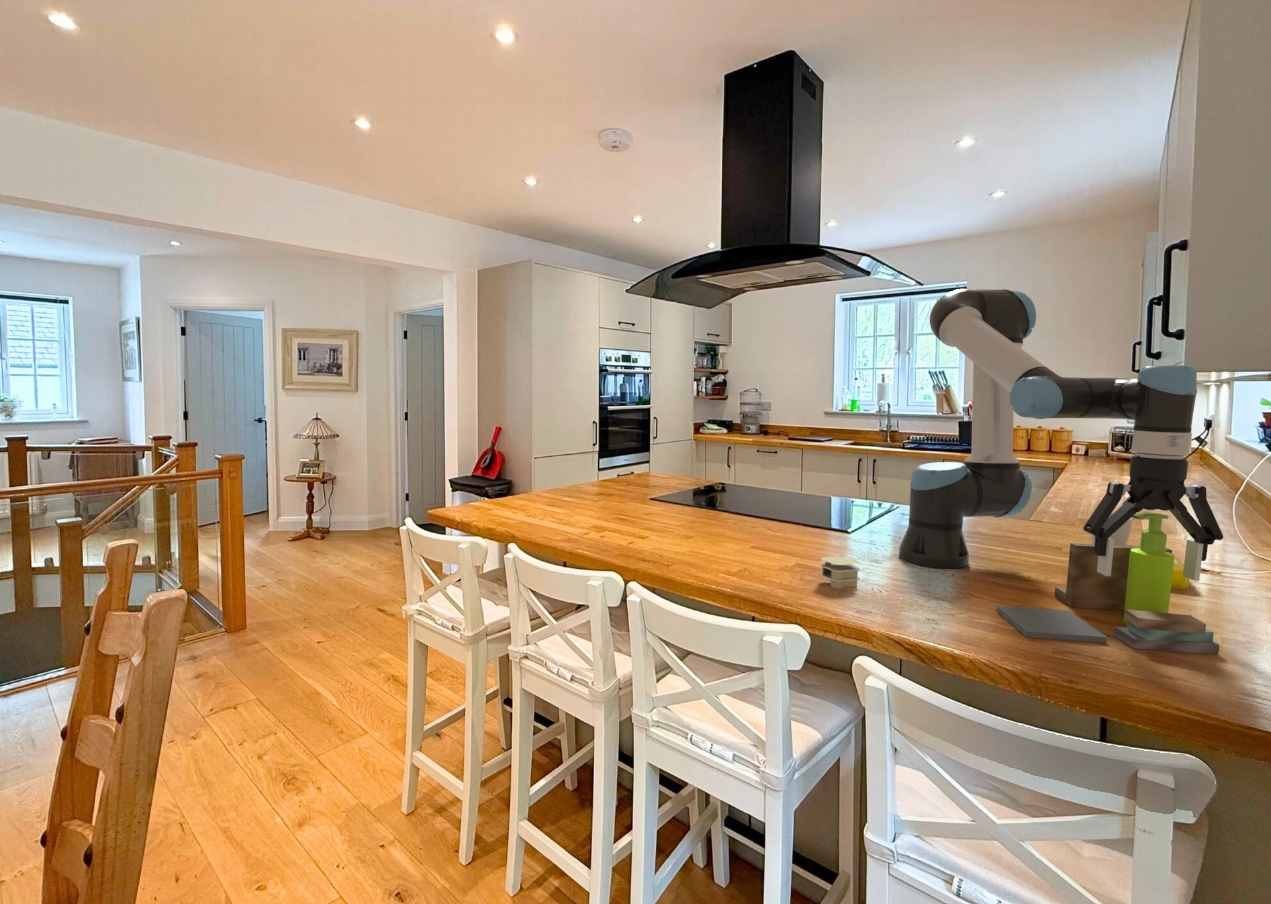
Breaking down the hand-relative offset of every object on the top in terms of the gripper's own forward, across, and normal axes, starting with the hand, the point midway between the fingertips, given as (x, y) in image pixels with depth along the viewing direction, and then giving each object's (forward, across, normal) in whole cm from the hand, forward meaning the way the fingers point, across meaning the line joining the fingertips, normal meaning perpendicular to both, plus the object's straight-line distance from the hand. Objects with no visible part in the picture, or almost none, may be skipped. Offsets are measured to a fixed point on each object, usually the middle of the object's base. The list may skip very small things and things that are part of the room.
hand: (1146, 576), depth 106 cm
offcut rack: (+9, 0, 0) cm, 9 cm away
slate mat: (+9, -17, -4) cm, 20 cm away
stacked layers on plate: (+9, -50, +13) cm, 52 cm away
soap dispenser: (+9, 0, 0) cm, 9 cm away
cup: (+9, +21, +49) cm, 54 cm away
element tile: (+9, +18, +32) cm, 38 cm away
